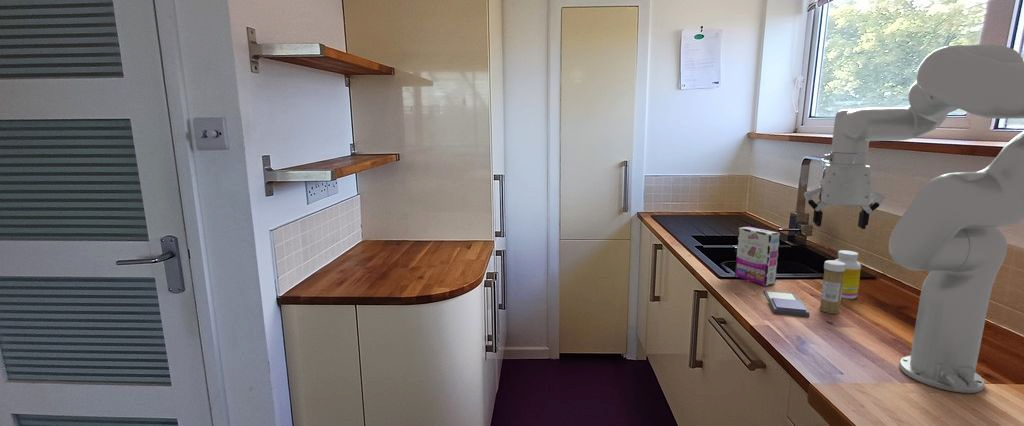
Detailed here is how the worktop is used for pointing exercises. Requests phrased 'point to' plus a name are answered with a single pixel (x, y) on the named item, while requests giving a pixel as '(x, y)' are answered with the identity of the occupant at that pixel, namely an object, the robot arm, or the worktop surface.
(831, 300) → the sprinkles bottle
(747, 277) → the candy bar box
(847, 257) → the supplement bottle
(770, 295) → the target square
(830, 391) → the worktop surface
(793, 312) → the ink pad
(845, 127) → the robot arm
